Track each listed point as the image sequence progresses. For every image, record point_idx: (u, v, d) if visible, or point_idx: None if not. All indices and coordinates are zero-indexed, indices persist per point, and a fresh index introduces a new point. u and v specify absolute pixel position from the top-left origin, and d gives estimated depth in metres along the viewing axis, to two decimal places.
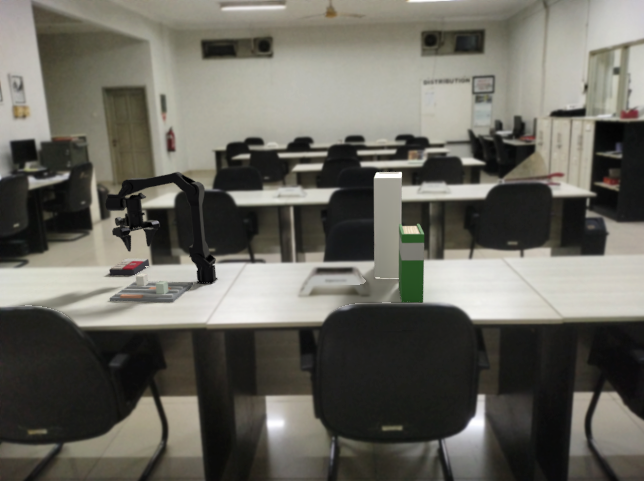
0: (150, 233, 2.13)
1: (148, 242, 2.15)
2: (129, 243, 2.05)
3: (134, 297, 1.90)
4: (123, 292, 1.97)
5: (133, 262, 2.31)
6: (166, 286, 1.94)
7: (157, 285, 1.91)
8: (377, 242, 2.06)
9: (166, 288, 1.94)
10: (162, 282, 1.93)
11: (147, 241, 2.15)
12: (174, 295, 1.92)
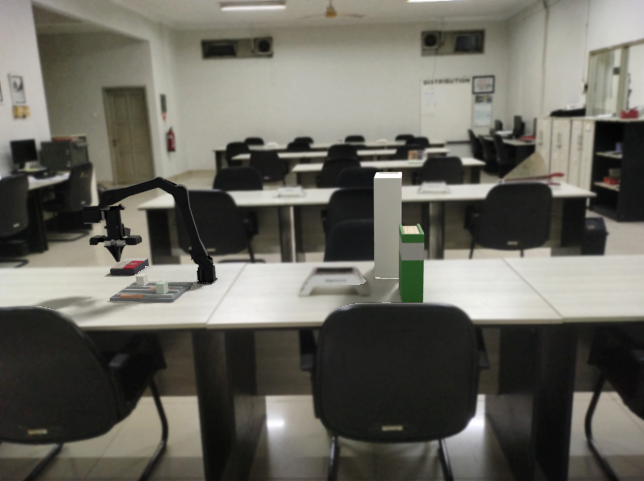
0: None
1: None
2: (112, 254, 2.01)
3: (134, 297, 1.90)
4: (123, 292, 1.97)
5: (133, 262, 2.31)
6: (166, 286, 1.94)
7: (157, 285, 1.91)
8: (377, 242, 2.06)
9: (166, 288, 1.94)
10: (162, 282, 1.93)
11: None
12: (174, 295, 1.92)
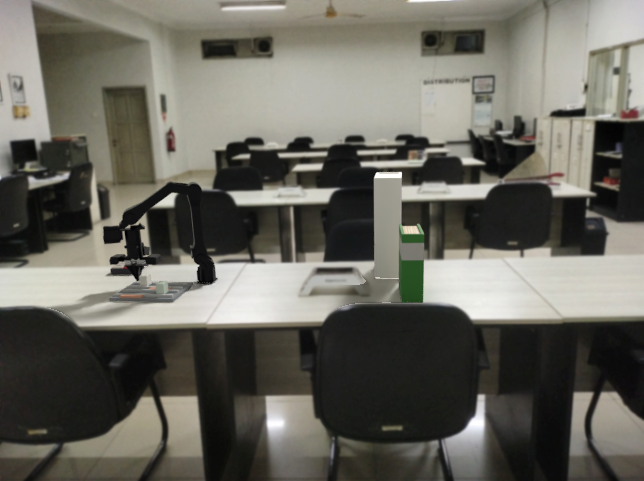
0: None
1: None
2: (132, 273, 2.02)
3: (134, 297, 1.90)
4: (123, 292, 1.97)
5: None
6: (166, 286, 1.94)
7: (157, 285, 1.91)
8: (377, 242, 2.06)
9: (166, 288, 1.94)
10: (162, 282, 1.93)
11: None
12: (174, 295, 1.92)
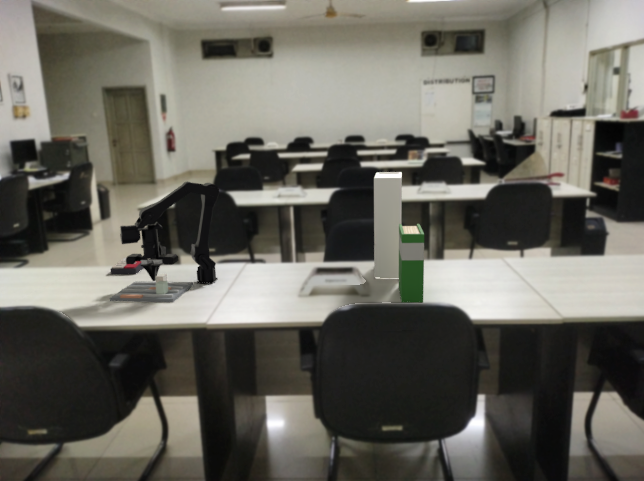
0: None
1: None
2: (148, 272, 2.01)
3: (134, 297, 1.90)
4: (123, 292, 1.97)
5: None
6: (166, 286, 1.94)
7: (157, 285, 1.91)
8: (377, 242, 2.06)
9: (166, 288, 1.94)
10: (162, 282, 1.93)
11: None
12: (174, 295, 1.92)
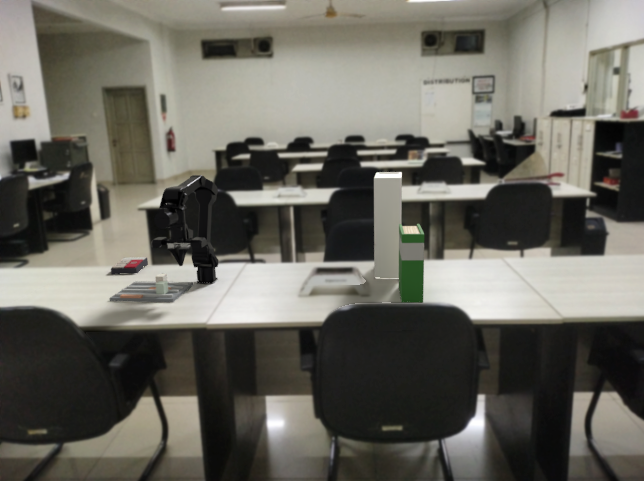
0: None
1: None
2: (175, 257, 1.88)
3: (134, 297, 1.90)
4: (123, 292, 1.97)
5: (133, 261, 2.33)
6: (166, 286, 1.94)
7: (157, 285, 1.91)
8: (377, 242, 2.06)
9: (166, 288, 1.94)
10: (162, 282, 1.93)
11: None
12: (174, 295, 1.92)
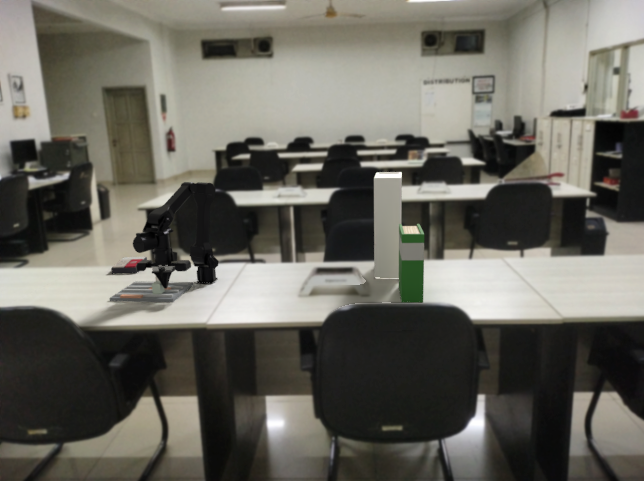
0: None
1: None
2: (160, 280, 1.91)
3: (134, 297, 1.90)
4: (123, 292, 1.97)
5: (133, 260, 2.34)
6: (162, 286, 1.94)
7: (153, 285, 1.92)
8: (377, 242, 2.06)
9: (162, 288, 1.94)
10: (158, 282, 1.93)
11: None
12: (174, 295, 1.92)
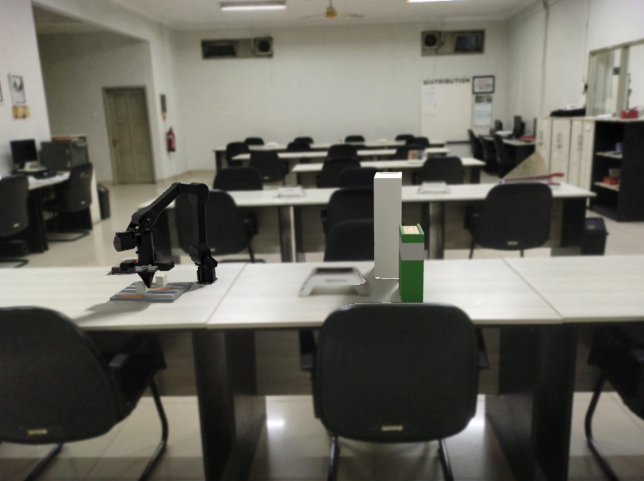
0: None
1: None
2: (143, 279, 1.91)
3: (134, 297, 1.90)
4: (123, 292, 1.97)
5: None
6: (146, 286, 1.95)
7: (137, 285, 1.92)
8: (377, 242, 2.06)
9: (146, 288, 1.95)
10: (142, 282, 1.94)
11: None
12: (174, 295, 1.92)
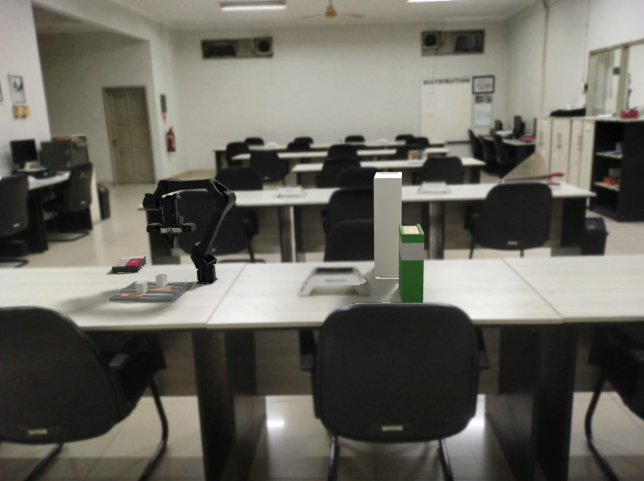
0: None
1: None
2: (168, 240, 2.11)
3: (134, 297, 1.90)
4: (123, 292, 1.97)
5: (133, 259, 2.35)
6: (146, 286, 1.95)
7: (136, 285, 1.92)
8: (377, 242, 2.06)
9: (146, 288, 1.95)
10: (142, 282, 1.94)
11: None
12: (174, 295, 1.92)
